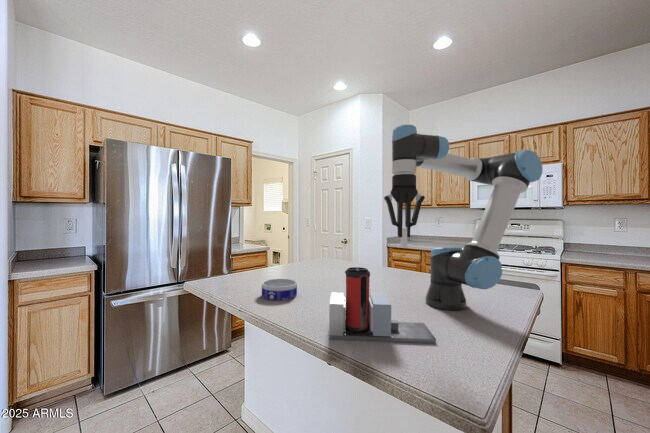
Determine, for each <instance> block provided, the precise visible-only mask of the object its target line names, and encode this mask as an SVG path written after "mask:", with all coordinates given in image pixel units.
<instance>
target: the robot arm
mask: <svg viewBox="0 0 650 433" xmlns="http://www.w3.org/2000/svg"><path fill="white" fill-rule="evenodd" d="M391 135H392V136H391V137H392V138H391V146H392V147H391V152H392V153H391V154H392V157H391V158H392V159H391V160H392V162H391V164H392V166H391V167H392V168H391V171H392V174H393V175H392V176H391V186H392V188H391V190H390V193H389V194H388V195H385V196H384V197H383V200H384V201H385V203H386V205H387V206H386V207H387V209H388V213H389V217H390V222H391V225H392V226H395V227H397V237H398V238H400V248H402V249H407V248H408V238H410V237H411V228H412V227H414V226H416V225H417V223H418V220H419V219H418V218H419V214H420V211H421V206H422V203H423V202H424V200H425V198H426V197H425V196H424V195H421V194H419V192H418V189H417V175H416V174H417V168H421V169H427V170H430V171H436V172H441V173H445V174H449V175H454V176H459V177H463V178H464V179H465V180H466V181H470V182H475V183H479V184H483V185H490V186H493V187H494V188H493V189H492V192H491V194H490V197H489V198H488V202H487V204H486V206H485V209H484V211H483V214H482V216H481V218H480V220H479V223H478V225H477V228H476V229H475V232H474V235H473V237H472V240H471V241H470V242H468V243H466V244H464V246H463V247H460V246H456V247H455V246H451V247H433V248H431V251H430V257H429V258H430V284H429V286H428V289H427V292H426V294H425V304H426V305H428V306H430V307H432V308H436V309H438V310H439V309H440V310H447V311H462V310H465V309H467V298H466V296H465V293H464V289H463V285H465V286H468V287H470V288H473V289H479V290H489V289H491V288H493V287H495V286H496V285H497V284H498V283H499V282H500V280H501V278H502V276H503V269H502V268H503V265H502V262H501V261H500V259H501V258H500V257H501V256H500V254H499V253H498V249H499V246H500V245H501V243H502V239H503V237H504V234H505V232H506V230H507V227H508V224H509V222H510V219H511V217H512V215H513V212H514V209H515V208H516V205H517V203H518V200H519V197H520V194H523V193H525V192H526V191H527V190H528V189H529V185H530V183H534V182H537V181H539V179H541V177H542V175H543V170H544V169H543V163H542V160H541V158H540V157H539V155H538V154H537V153H536V152H534V151H533V150H530V149H526V150H517V151H516V152H510V153H506V154H500V155H495V156H490V157H482V158H480V157H476V156H475V157H469V158H468V157H466V156H465V157H464V156H462V155H458V154H457V155H456V154H452V153H449V151H450V142H449V139H448V138H447V137H445V136H441V135H437V134H436V135H433V134H432V135H431V134H423V133H422V134H421V133H417V126H415V125H413V124H401V125H397V126H396V127H395V128H393V130H392V134H391ZM393 199H394V201H395V202H396V206H397V208H396V210H397V211H396V212H397V214H395V211H394V206H393V202H392V200H393ZM414 199H415V201H416V202H415V204H414V208H413V212H411V211H412V209H411V208H412V202H413V201H414ZM403 206H404V208H403ZM403 209H404V212H403ZM404 213H405V216H404V217H405V218H404V220H405V221H404V222H405V223H404V226H403V214H404ZM411 213H412V214H411Z"/></svg>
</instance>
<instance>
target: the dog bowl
mask: <svg viewBox="0 0 650 433" xmlns="http://www.w3.org/2000/svg"><path fill="white" fill-rule="evenodd" d="M297 295H298V281H296V280H295V279H291V278H271V279H266V280H262V281H261V298H262V299H263V300H266V301H270V300H271V301H273V302H281V301H283V302H284V301H289V300H293V299H295V298H297Z"/></svg>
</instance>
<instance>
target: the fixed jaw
mask: <svg viewBox="0 0 650 433" xmlns="http://www.w3.org/2000/svg"><path fill="white" fill-rule="evenodd" d="M328 308H329V312H328V314H329V315H328V316H329V322H328V323H329V324H328V326H329V329H328V334H329V335H339V336H343V331H344V332H345V320H346V295H344V292H335V291H334V292H331V293H330V299H329V307H328ZM329 335H328V336H329Z"/></svg>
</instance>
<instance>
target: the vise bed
mask: <svg viewBox="0 0 650 433" xmlns="http://www.w3.org/2000/svg"><path fill="white" fill-rule="evenodd" d="M398 323H399V325H398V330H393V329H391V336H373V333H372V332H371V329H370V327H369V329H367V330H365V331H363V332H360V331H355V332H353V331H350V330H349V329H347V328H345V332H344V331H343V336H339V335H328V337H329V338H328V340H337V341H365V342H366V341H367V342H384V343H385V342H389V343H391V342H392V343H410V344H411V343H413V344H437V338H436V337H435V336H434V335H433V333H432V331H431V330H430V329H429V327H428V326H427V324H425V322H412V321H411V322H410V321H409V322H408V321H398Z"/></svg>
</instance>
